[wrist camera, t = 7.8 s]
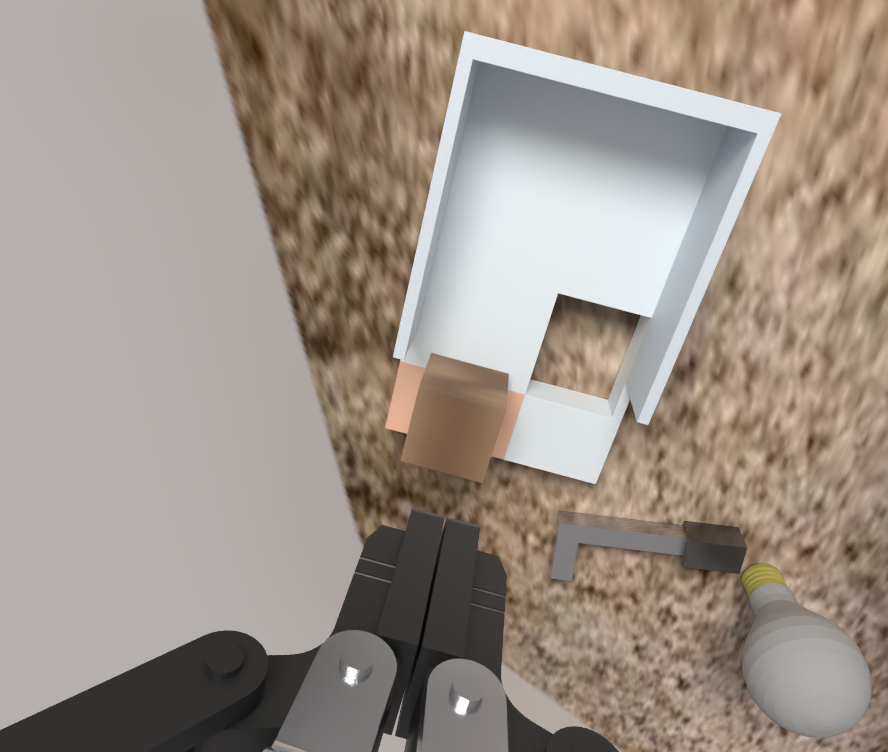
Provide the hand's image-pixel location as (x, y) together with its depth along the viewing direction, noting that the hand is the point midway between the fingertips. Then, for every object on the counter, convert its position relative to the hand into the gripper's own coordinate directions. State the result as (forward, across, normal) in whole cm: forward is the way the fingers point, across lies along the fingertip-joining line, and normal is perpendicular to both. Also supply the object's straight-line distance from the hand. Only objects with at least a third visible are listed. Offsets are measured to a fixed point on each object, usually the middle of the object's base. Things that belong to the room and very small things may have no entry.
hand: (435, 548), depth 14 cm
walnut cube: (+19, 0, +6) cm, 20 cm away
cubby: (+21, -2, 0) cm, 21 cm away
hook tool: (+21, -13, +14) cm, 28 cm away
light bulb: (+21, -19, +13) cm, 32 cm away
